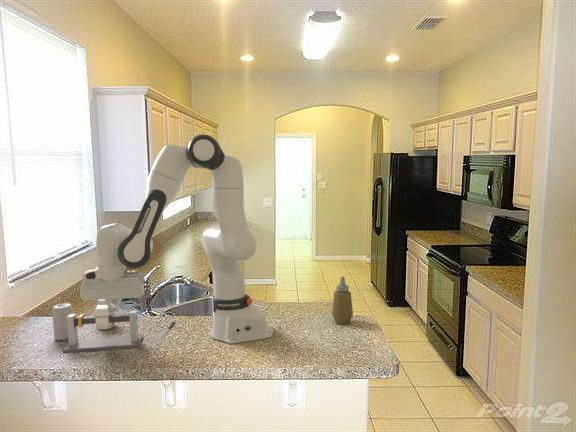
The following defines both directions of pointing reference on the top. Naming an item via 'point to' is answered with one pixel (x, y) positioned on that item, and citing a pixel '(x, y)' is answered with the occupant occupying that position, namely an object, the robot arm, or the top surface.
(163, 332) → the chef's knife
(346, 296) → the squeeze bottle
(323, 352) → the top surface
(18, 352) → the top surface
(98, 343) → the grey slider rail base
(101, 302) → the pill bottle
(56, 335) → the beverage can
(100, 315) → the cream sliding block
